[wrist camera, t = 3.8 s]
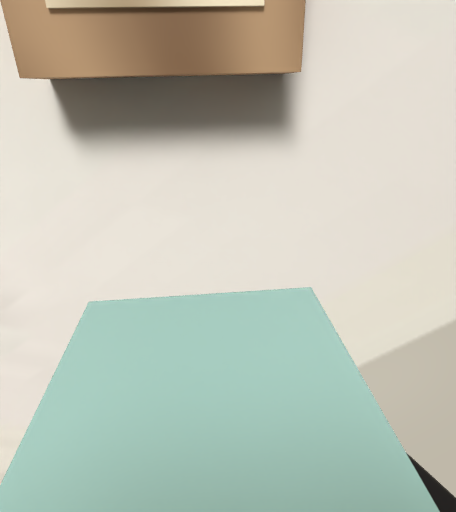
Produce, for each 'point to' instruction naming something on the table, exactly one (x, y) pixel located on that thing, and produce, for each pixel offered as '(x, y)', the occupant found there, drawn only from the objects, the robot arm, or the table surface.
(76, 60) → the base slab
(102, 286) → the table surface
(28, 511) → the teal cube
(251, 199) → the table surface
